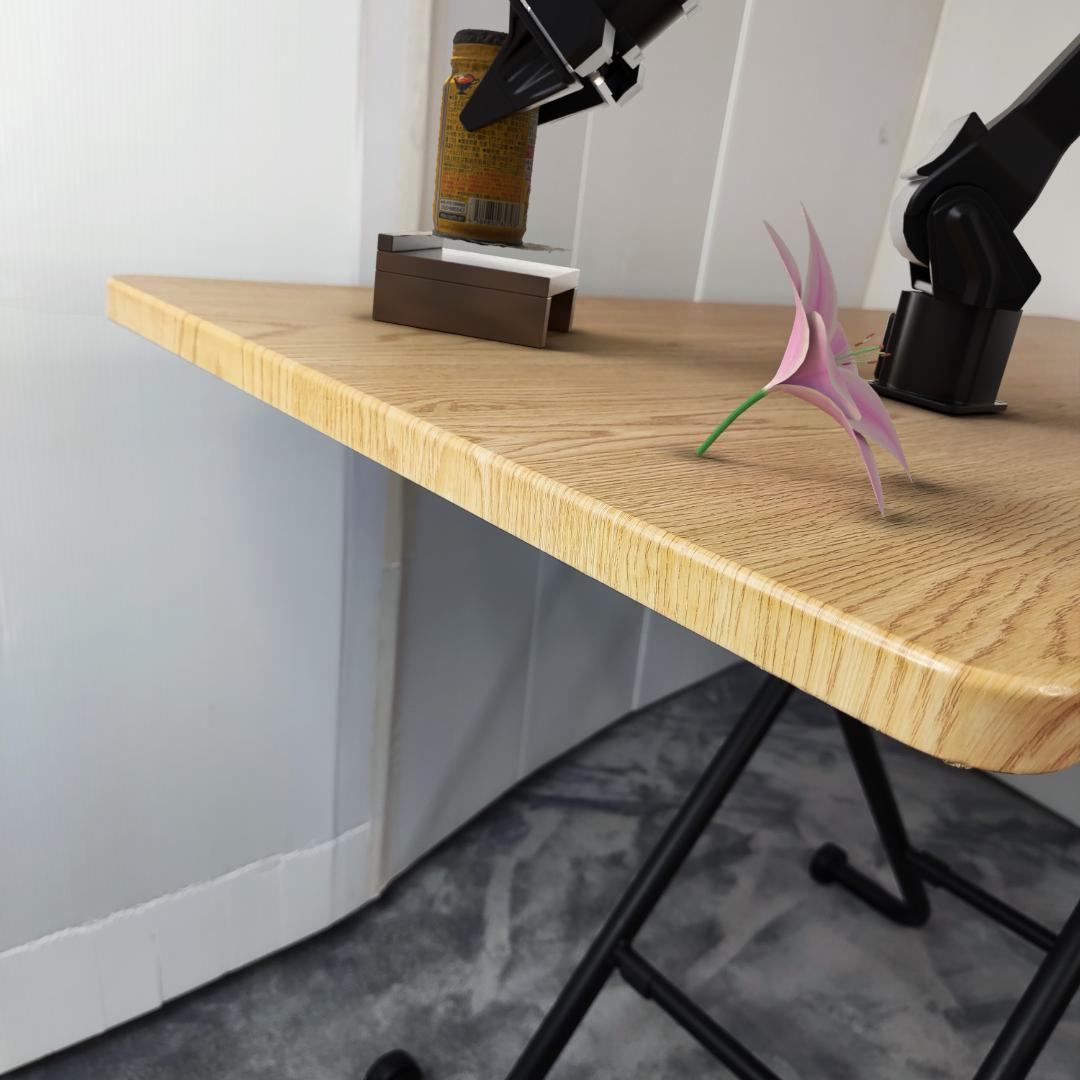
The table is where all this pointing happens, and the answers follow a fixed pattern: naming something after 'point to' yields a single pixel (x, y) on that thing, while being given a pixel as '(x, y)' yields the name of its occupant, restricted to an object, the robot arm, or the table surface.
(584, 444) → the table surface
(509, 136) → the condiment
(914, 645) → the table surface
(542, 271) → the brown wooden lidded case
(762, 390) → the lily
